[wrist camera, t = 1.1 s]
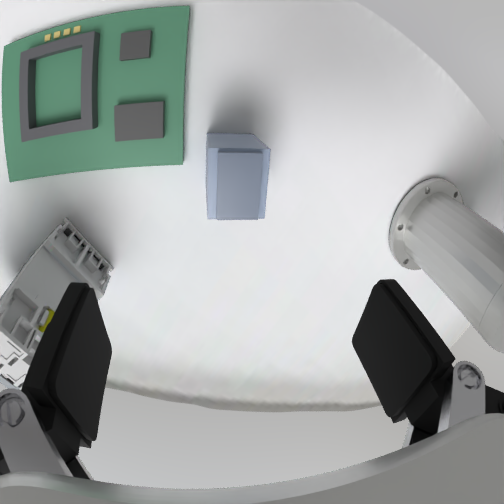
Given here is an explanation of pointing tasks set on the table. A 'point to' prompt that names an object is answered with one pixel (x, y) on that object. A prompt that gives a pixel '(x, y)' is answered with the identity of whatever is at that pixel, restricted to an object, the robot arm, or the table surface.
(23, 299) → the circuit breaker
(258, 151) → the plug
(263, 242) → the table surface
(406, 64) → the table surface
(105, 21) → the board
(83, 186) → the table surface
